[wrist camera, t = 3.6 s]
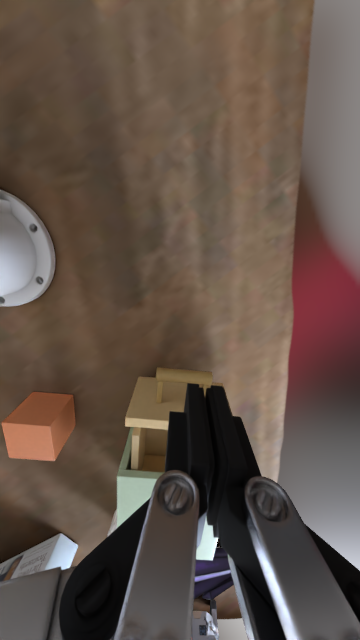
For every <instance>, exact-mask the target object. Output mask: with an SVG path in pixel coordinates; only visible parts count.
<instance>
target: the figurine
mask: <svg viewBox="0 0 360 640" xmlns="http://www.w3.org/2000/svg"><path fill="white" fill-rule="evenodd" d="M218 638H219V635H218V626H217V615H216V601H215V600H211V602H210V614H209V613H207V612H206V611H193V617H192V634H191V640H218Z"/></svg>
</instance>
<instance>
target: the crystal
mask: <svg viewBox="0 0 360 640" xmlns="http://www.w3.org/2000/svg"><path fill="white" fill-rule="evenodd" d="M232 585H234V582H233V578H232V574H231V570H230V566H229V561H228V554H227V552H226V551H225V550H224V549H223V548H215V552H214V557H213V560H198V559H196V567H195V584H194V599H195V598H197V597H198V596H200V595H202V594H203V593H204V594H203V595H202V598H204V599H208V600H212V599H213V598H215V597H216V596H218V595H219V594H221V593H222V592H224V591H225V590H227V589H228V588H229V587H231V586H232Z"/></svg>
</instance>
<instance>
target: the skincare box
mask: <svg viewBox="0 0 360 640" xmlns="http://www.w3.org/2000/svg"><path fill="white" fill-rule="evenodd" d="M77 548H78V545H77V544H76V543H74V542H73V541H71V540H70V539H69V538H67V537H66V536H64V535H63V534H62V533H60V534H58V535H56V536H54V537H52V538H50V539H48V540H46V541H44V542H42V543H40V544H38V545H36V546H34V547H32V548H30V549H28V550H26V551H24V552H23V553H21V554H19V555H17V556H15V557H13V558H11V559H9V560H7V561H5V562H3V563H1V564H0V582H2V581H6V580H10V579H13V578H17V577H21V576H25V575H29V574H33V573H37V572H41V571H45V570H48V569H52V568H56V567H60V566H61V570H63V569H67V568H70V566H71V563H72V560H73V558H74V555H75V553H76V550H77Z"/></svg>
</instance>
